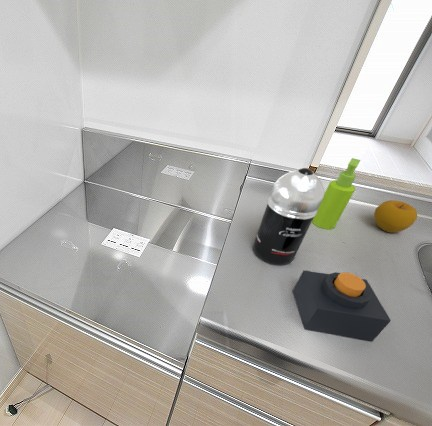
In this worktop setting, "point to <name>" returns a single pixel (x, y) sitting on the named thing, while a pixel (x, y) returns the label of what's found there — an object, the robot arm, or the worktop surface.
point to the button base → (338, 308)
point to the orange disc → (349, 284)
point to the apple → (395, 216)
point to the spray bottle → (288, 216)
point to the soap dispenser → (336, 198)
